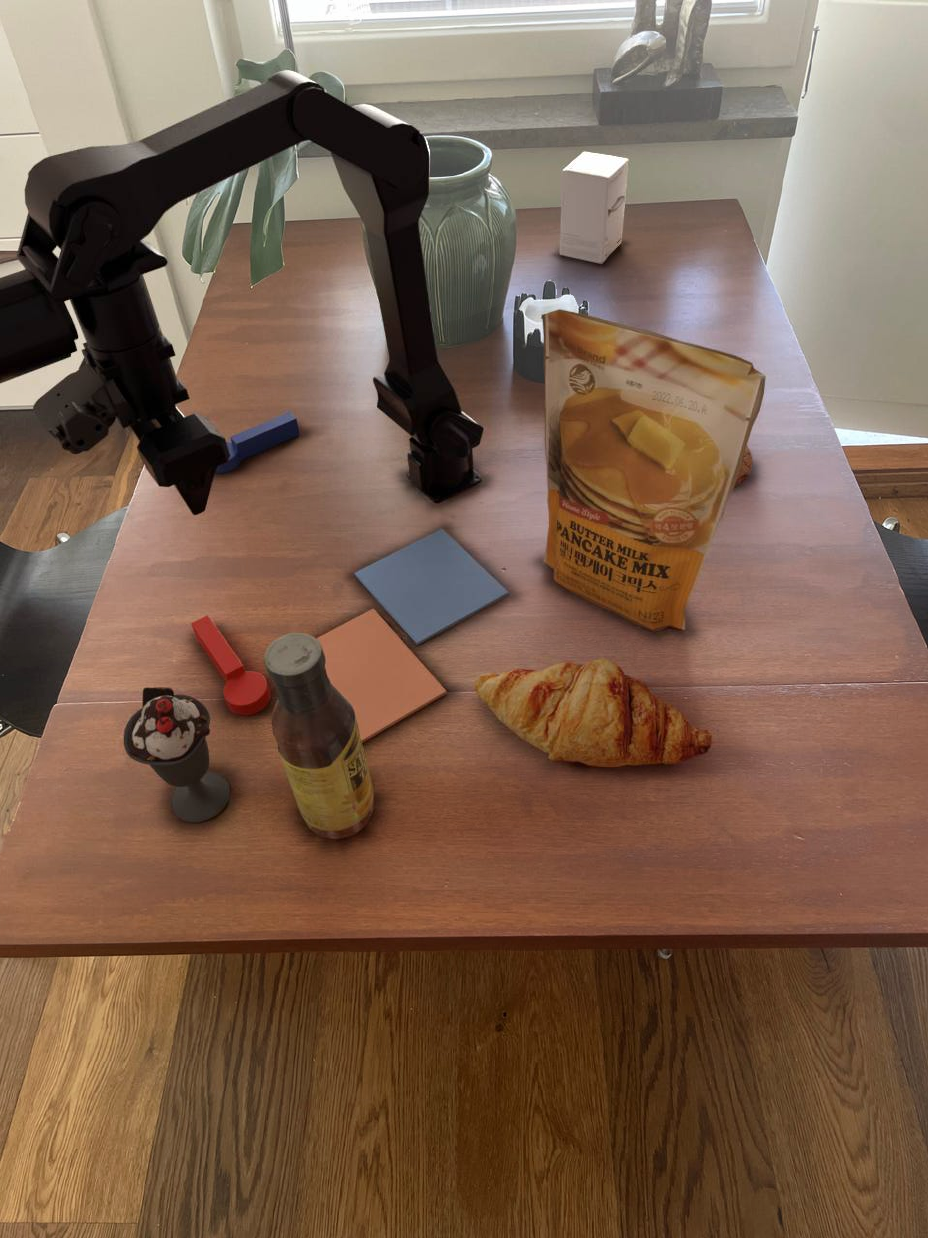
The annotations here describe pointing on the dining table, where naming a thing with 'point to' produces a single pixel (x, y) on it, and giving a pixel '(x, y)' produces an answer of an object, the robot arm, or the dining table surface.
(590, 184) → the white packaging box
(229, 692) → the red spoon
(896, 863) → the dining table surface
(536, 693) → the croissant
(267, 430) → the blue spoon
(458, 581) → the blue mat
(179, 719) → the sundae
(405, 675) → the red mat
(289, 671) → the sauce bottle
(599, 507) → the pancake mix bag
